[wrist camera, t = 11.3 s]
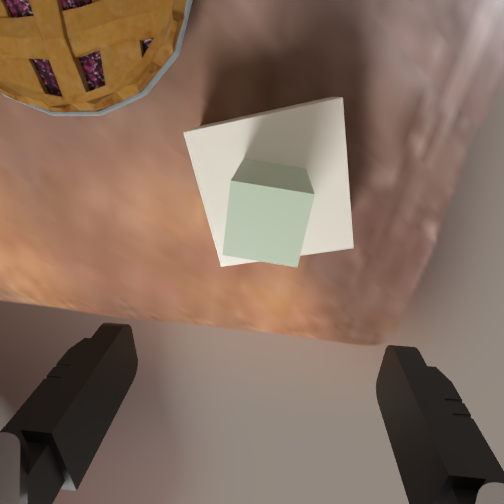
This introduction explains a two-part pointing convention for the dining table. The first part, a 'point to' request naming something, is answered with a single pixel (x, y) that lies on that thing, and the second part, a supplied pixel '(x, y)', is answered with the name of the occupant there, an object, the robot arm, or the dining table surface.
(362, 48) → the dining table surface
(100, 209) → the dining table surface
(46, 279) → the dining table surface
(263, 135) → the base box
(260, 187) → the sage block
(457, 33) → the dining table surface
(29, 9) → the pie
